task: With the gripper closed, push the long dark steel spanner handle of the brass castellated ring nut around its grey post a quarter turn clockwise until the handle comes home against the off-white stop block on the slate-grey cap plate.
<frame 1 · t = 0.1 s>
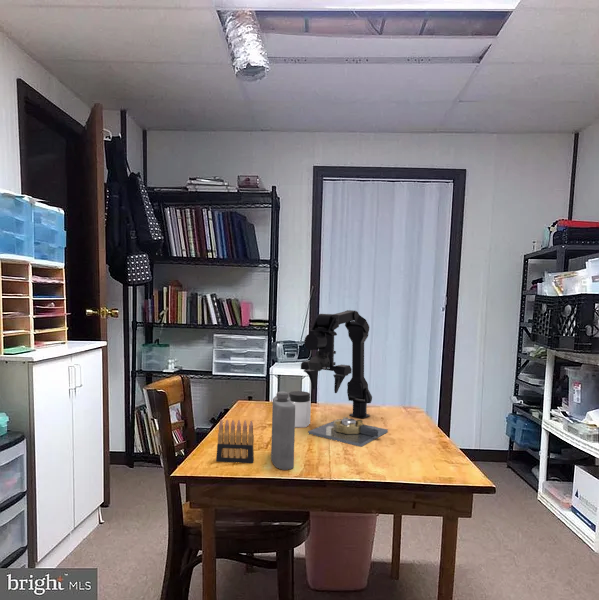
hand: (324, 391, 156), 15 cm above the table, tool pointing down, fingers open, 9 cm apart
cap plate: (348, 433, 155), on the table
jar: (298, 425, 164), on the table
ammunition clip: (234, 461, 124), on the table
ring nut: (357, 427, 153), point 3 cm above the table, hinge at 0.0°
flask: (281, 461, 126), on the table
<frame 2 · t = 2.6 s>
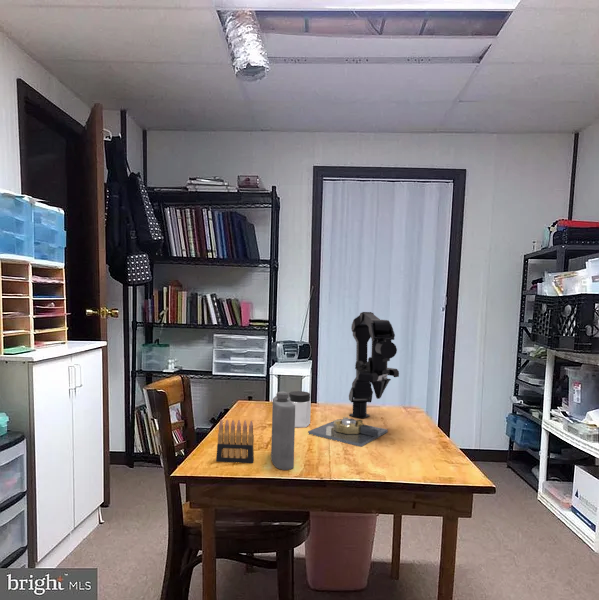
hand: (378, 398, 154), 13 cm above the table, tool pointing down, fingers closed
nothing on the table moved.
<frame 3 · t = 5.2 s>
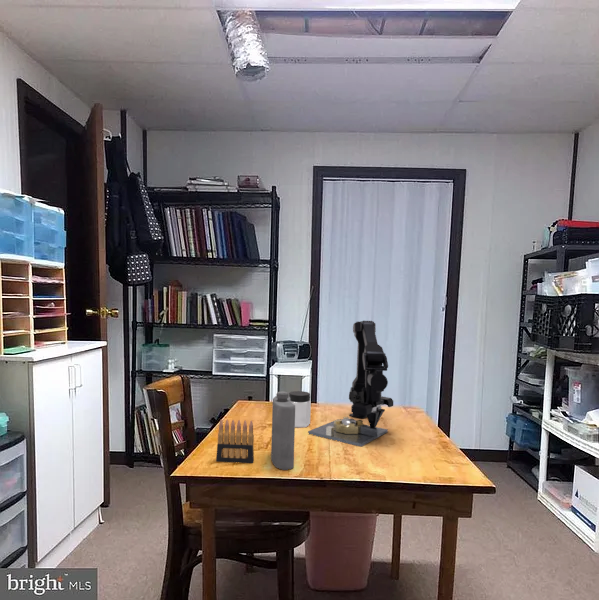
hand: (372, 429, 151), 3 cm above the table, tool pointing down, fingers closed
ring nut: (357, 427, 153), point 3 cm above the table, hinge at 2.1°, touching gripper
everything else where it was.
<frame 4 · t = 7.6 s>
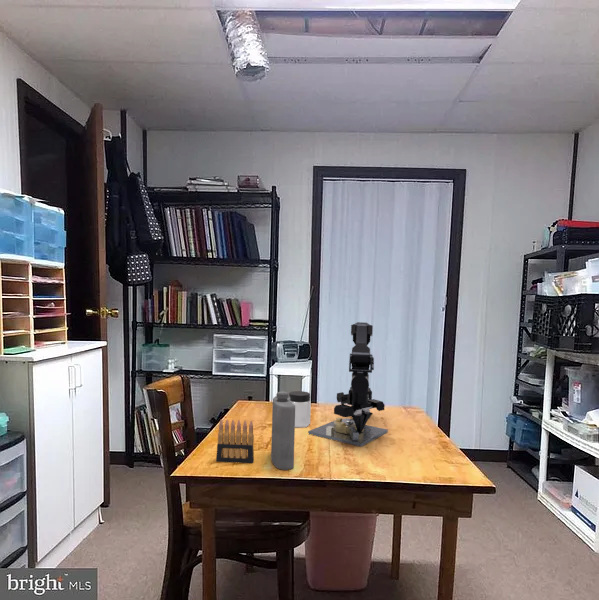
hand: (359, 432, 147), 3 cm above the table, tool pointing down, fingers closed
ring nut: (350, 427, 151), point 3 cm above the table, hinge at 49.9°, touching gripper
everything else where it was.
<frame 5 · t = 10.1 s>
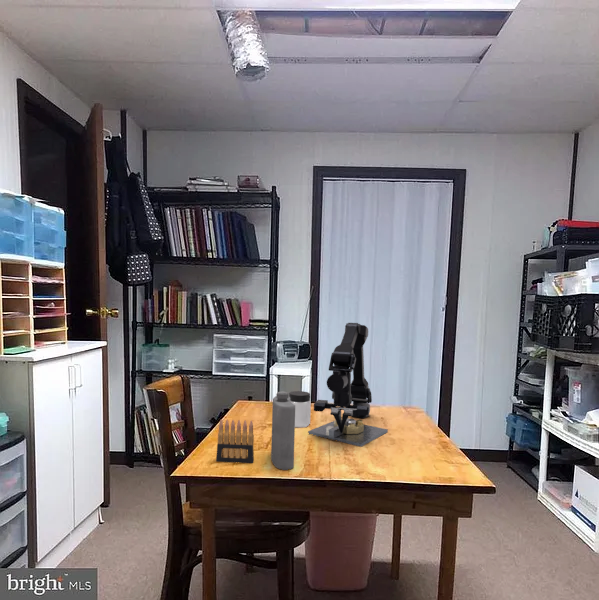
hand: (341, 432, 147), 3 cm above the table, tool pointing down, fingers closed
ring nut: (343, 427, 152), point 3 cm above the table, hinge at 90.4°, touching gripper
everything else where it was.
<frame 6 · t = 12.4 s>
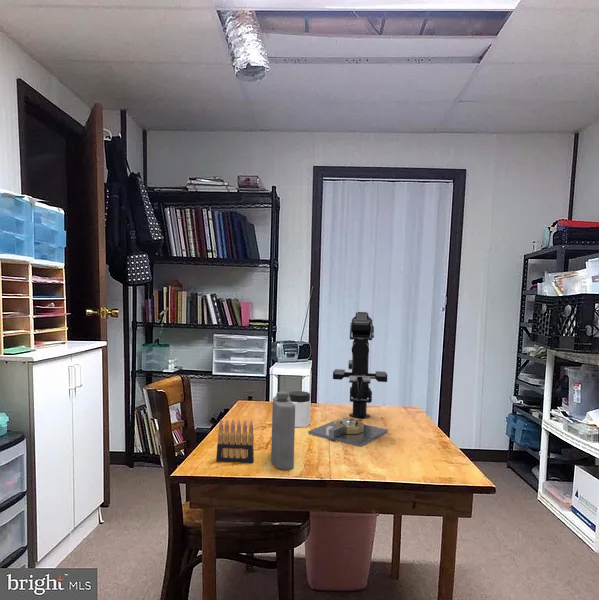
hand: (359, 400, 151), 13 cm above the table, tool pointing down, fingers closed
ring nut: (343, 427, 152), point 3 cm above the table, hinge at 90.4°
everything else where it was.
at the end: ring nut at +90° (first picture: +0°); the gripper is holding nothing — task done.
